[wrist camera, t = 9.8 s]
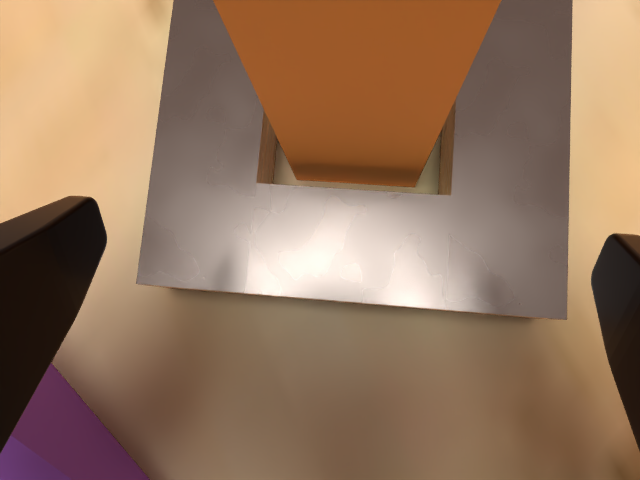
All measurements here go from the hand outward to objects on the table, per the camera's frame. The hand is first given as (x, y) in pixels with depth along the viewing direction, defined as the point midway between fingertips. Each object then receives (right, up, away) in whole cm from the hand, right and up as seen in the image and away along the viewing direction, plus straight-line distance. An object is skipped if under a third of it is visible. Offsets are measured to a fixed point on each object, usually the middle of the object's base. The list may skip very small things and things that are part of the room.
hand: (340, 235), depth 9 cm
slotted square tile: (+1, +4, +8) cm, 9 cm away
